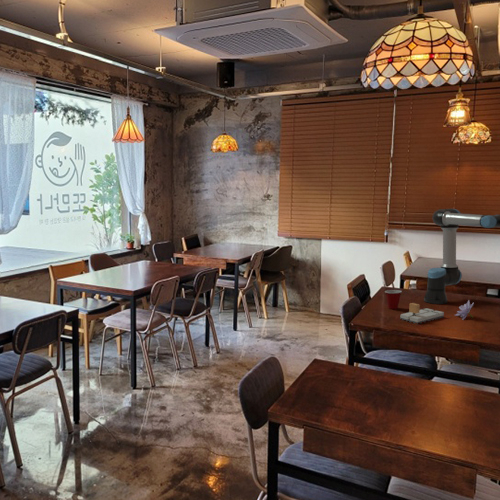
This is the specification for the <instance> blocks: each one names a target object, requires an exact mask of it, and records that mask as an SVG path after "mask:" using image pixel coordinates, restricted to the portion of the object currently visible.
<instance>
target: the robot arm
mask: <svg viewBox="0 0 500 500" xmlns="http://www.w3.org/2000/svg"><path fill="white" fill-rule="evenodd" d="M431 220H432V221H433V223H434V224H435V225H436V226H440V229H441V230H442V264H441V265H440V267H432V268H429V269H428V271H427V284H426V285H427V286H426V287H427V288H426V293H425V294H424V297H423V302H425V303H428V304H436V305H443V304H448V297H447V293H446V286H454V285H457V284H458V283H460V282H461V280H462V277H463V274H462V272H461V270H460V269H459V265H457V230H458V229H459V226H469V227H481V228H485V229H493V228H500V214H493V215H491V214H489V215H488V214H475V213H474V214H473V213H461V212H460V210H458V209H456V208H441V209H440V208H439V209H437V210H436V211H434V212H433V214H432V219H431Z"/></svg>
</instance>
